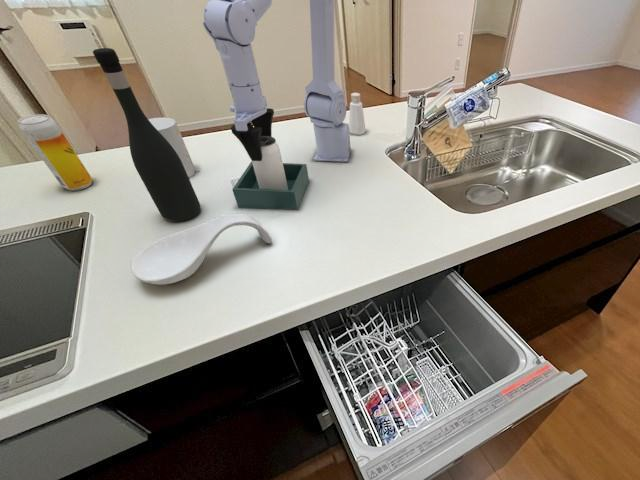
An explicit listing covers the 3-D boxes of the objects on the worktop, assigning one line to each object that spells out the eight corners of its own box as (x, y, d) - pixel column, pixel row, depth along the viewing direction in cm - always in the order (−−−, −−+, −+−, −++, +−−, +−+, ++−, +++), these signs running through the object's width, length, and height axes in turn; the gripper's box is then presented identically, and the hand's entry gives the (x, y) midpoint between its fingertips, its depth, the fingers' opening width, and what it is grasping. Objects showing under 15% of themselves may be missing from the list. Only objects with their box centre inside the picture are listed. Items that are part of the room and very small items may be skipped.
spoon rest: (149, 304, 58) (126, 273, 53) (133, 267, 64) (111, 235, 59) (280, 252, 69) (272, 221, 63) (256, 224, 75) (247, 194, 70)
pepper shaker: (345, 132, 111) (342, 94, 103) (355, 127, 114) (353, 89, 106) (359, 136, 109) (357, 97, 101) (369, 131, 112) (368, 93, 104)
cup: (201, 173, 89) (181, 124, 80) (169, 184, 85) (144, 133, 76) (187, 162, 93) (166, 114, 84) (155, 172, 88) (130, 123, 80)
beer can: (100, 182, 84) (58, 116, 73) (77, 193, 80) (29, 126, 69) (81, 177, 85) (37, 111, 75) (57, 188, 81) (7, 121, 71)
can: (292, 186, 86) (281, 136, 77) (283, 199, 81) (271, 148, 72) (266, 183, 86) (253, 133, 77) (256, 197, 81) (241, 146, 73)
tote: (309, 180, 89) (306, 163, 85) (297, 209, 79) (294, 192, 76) (255, 178, 88) (251, 161, 85) (238, 207, 79) (232, 189, 76)
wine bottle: (158, 210, 77) (70, 46, 55) (196, 199, 80) (126, 42, 59) (167, 227, 73) (75, 58, 51) (206, 216, 76) (136, 52, 54)
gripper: (235, 71, 71) (253, 138, 81) (208, 93, 62) (232, 166, 71) (270, 72, 72) (283, 139, 82) (248, 95, 62) (266, 168, 72)
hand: (261, 152), depth 77 cm, fingers open, 7 cm apart
